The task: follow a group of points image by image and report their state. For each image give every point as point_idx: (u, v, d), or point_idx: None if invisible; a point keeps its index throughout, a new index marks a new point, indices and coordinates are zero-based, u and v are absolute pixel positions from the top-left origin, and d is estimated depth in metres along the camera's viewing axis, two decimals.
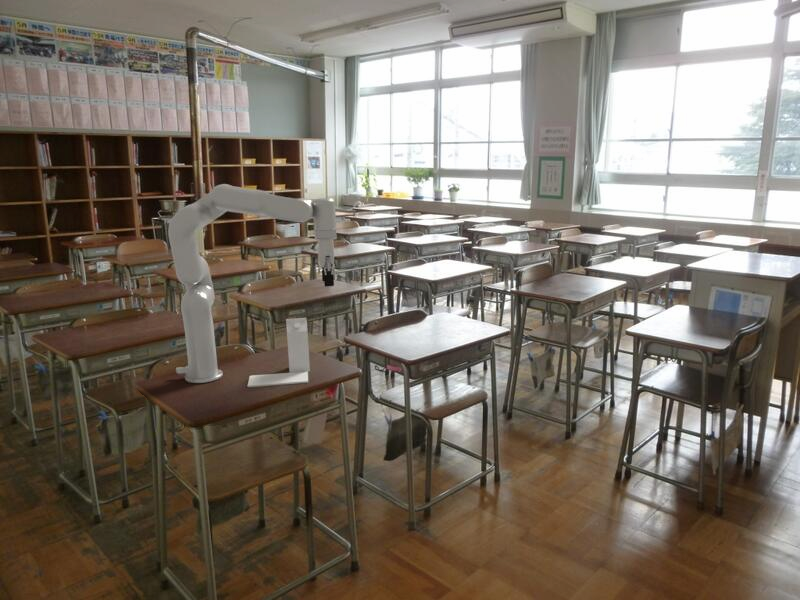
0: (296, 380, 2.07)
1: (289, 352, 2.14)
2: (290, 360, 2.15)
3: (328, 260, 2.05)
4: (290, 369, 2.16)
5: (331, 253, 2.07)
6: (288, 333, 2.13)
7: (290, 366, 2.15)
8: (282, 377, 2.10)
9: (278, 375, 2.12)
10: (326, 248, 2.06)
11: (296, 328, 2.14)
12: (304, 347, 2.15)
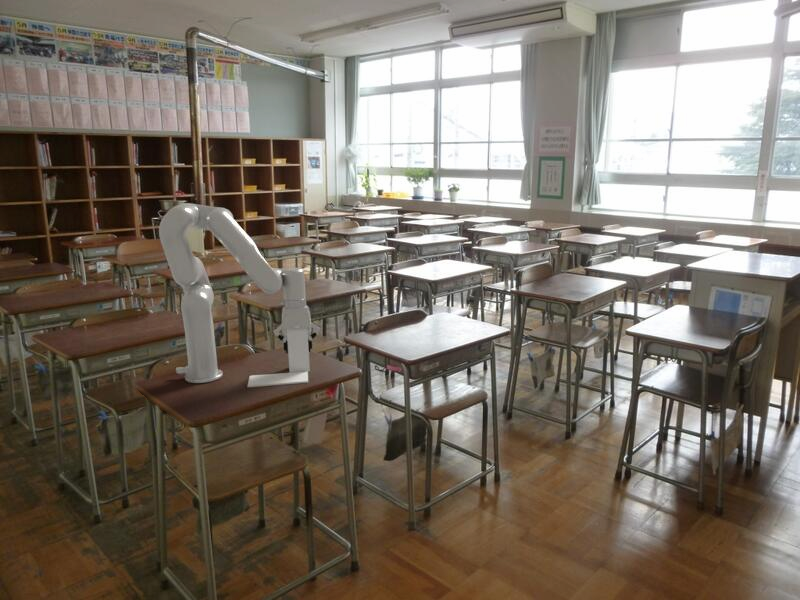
0: (296, 380, 2.07)
1: (289, 352, 2.14)
2: (290, 360, 2.15)
3: (315, 325, 2.17)
4: (290, 369, 2.16)
5: None
6: (288, 333, 2.13)
7: (290, 366, 2.15)
8: (282, 377, 2.10)
9: (278, 375, 2.12)
10: None
11: (296, 328, 2.14)
12: (304, 347, 2.15)
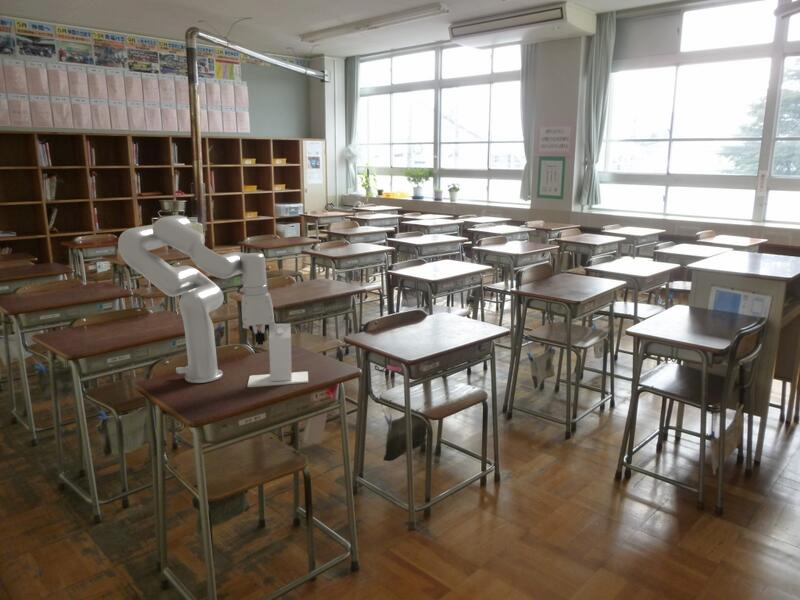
0: (296, 380, 2.07)
1: (271, 359, 2.04)
2: (271, 367, 2.05)
3: None
4: (271, 377, 2.05)
5: None
6: (270, 339, 2.03)
7: (271, 374, 2.05)
8: None
9: None
10: (271, 302, 2.03)
11: (279, 334, 2.04)
12: (287, 355, 2.05)
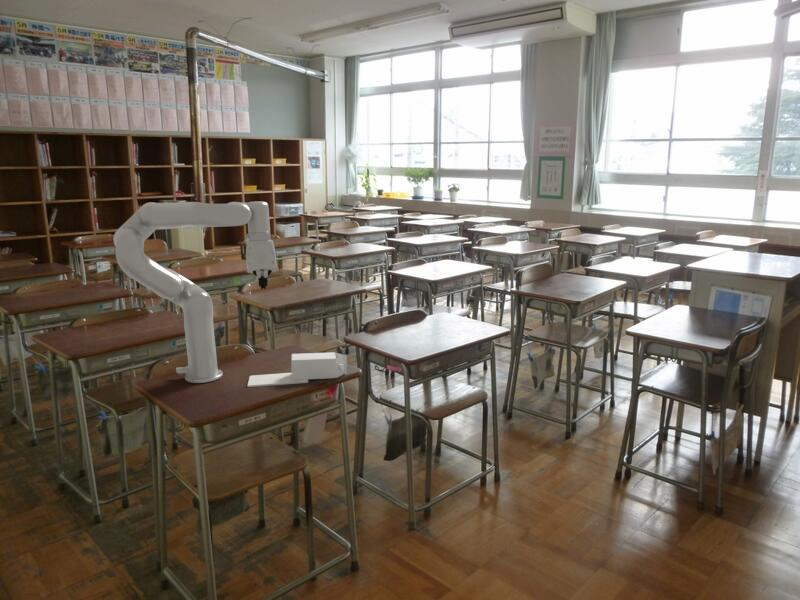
0: (296, 380, 2.07)
1: (314, 360, 2.07)
2: (305, 361, 2.06)
3: None
4: (295, 361, 2.06)
5: None
6: (335, 360, 2.08)
7: (299, 361, 2.06)
8: (282, 377, 2.10)
9: (278, 375, 2.12)
10: (274, 248, 2.16)
11: (338, 367, 2.10)
12: (318, 375, 2.08)
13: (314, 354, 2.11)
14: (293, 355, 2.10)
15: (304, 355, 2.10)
